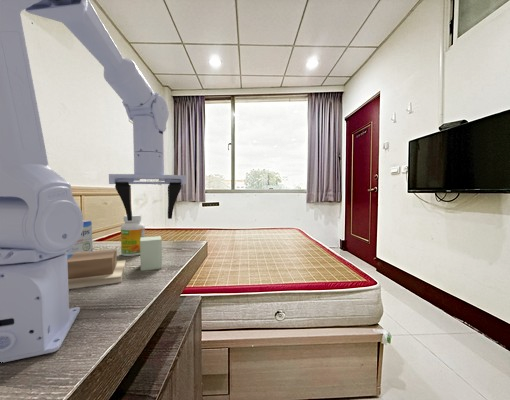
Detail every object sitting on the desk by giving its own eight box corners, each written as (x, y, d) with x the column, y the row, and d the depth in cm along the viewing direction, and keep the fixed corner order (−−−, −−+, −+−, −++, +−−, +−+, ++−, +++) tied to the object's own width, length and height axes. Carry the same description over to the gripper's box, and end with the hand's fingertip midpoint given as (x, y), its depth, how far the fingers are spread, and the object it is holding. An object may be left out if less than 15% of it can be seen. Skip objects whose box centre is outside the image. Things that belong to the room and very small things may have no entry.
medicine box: (62, 265, 54) (61, 225, 54) (46, 264, 55) (44, 224, 54) (93, 255, 62) (92, 220, 61) (78, 254, 63) (76, 220, 62)
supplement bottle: (117, 256, 60) (116, 216, 60) (126, 251, 66) (125, 214, 65) (140, 256, 61) (139, 216, 61) (148, 250, 66) (147, 214, 66)
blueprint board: (121, 282, 44) (120, 259, 44) (50, 291, 40) (49, 266, 40) (126, 264, 54) (125, 246, 54) (69, 270, 50) (69, 250, 50)
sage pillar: (162, 268, 52) (161, 239, 52) (140, 270, 50) (140, 241, 50) (161, 263, 56) (160, 236, 55) (141, 265, 54) (140, 237, 54)
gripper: (182, 157, 58) (183, 215, 59) (111, 154, 53) (113, 218, 53) (187, 153, 52) (188, 219, 53) (106, 149, 46) (108, 222, 47)
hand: (150, 219), depth 53 cm, fingers open, 7 cm apart
